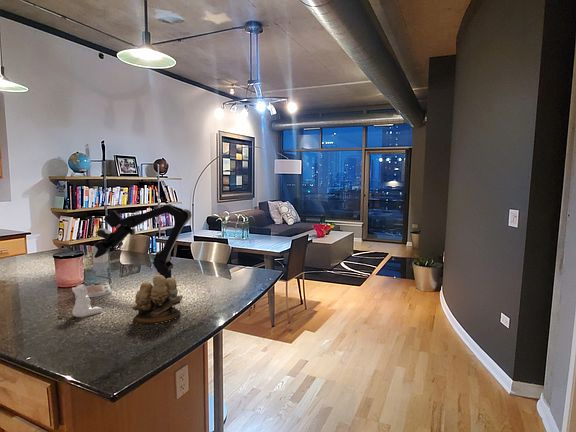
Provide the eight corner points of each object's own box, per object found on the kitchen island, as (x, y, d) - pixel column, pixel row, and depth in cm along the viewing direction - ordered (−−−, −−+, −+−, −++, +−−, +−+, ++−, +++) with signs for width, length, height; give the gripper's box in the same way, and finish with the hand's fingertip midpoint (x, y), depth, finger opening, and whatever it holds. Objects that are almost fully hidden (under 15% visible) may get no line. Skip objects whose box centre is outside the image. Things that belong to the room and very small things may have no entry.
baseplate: (108, 285, 170) (108, 282, 170) (111, 294, 159) (111, 290, 158) (75, 289, 163) (74, 285, 163) (75, 299, 151) (74, 294, 151)
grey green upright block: (108, 268, 179) (107, 244, 177) (103, 270, 174) (102, 246, 172) (98, 267, 179) (97, 244, 177) (93, 270, 174) (92, 246, 172)
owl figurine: (179, 309, 143) (179, 268, 141) (186, 319, 133) (186, 275, 131) (130, 316, 134) (130, 272, 132) (135, 328, 124) (134, 281, 122)
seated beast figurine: (103, 311, 138) (102, 282, 137) (85, 320, 130) (84, 288, 128) (83, 309, 140) (82, 279, 139) (64, 317, 132) (63, 285, 131)
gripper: (116, 220, 183) (95, 241, 184) (97, 225, 165) (74, 248, 165) (132, 236, 184) (111, 256, 185) (115, 242, 166) (92, 265, 166)
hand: (97, 256), depth 175 cm, fingers closed on grey green upright block, 5 cm apart
